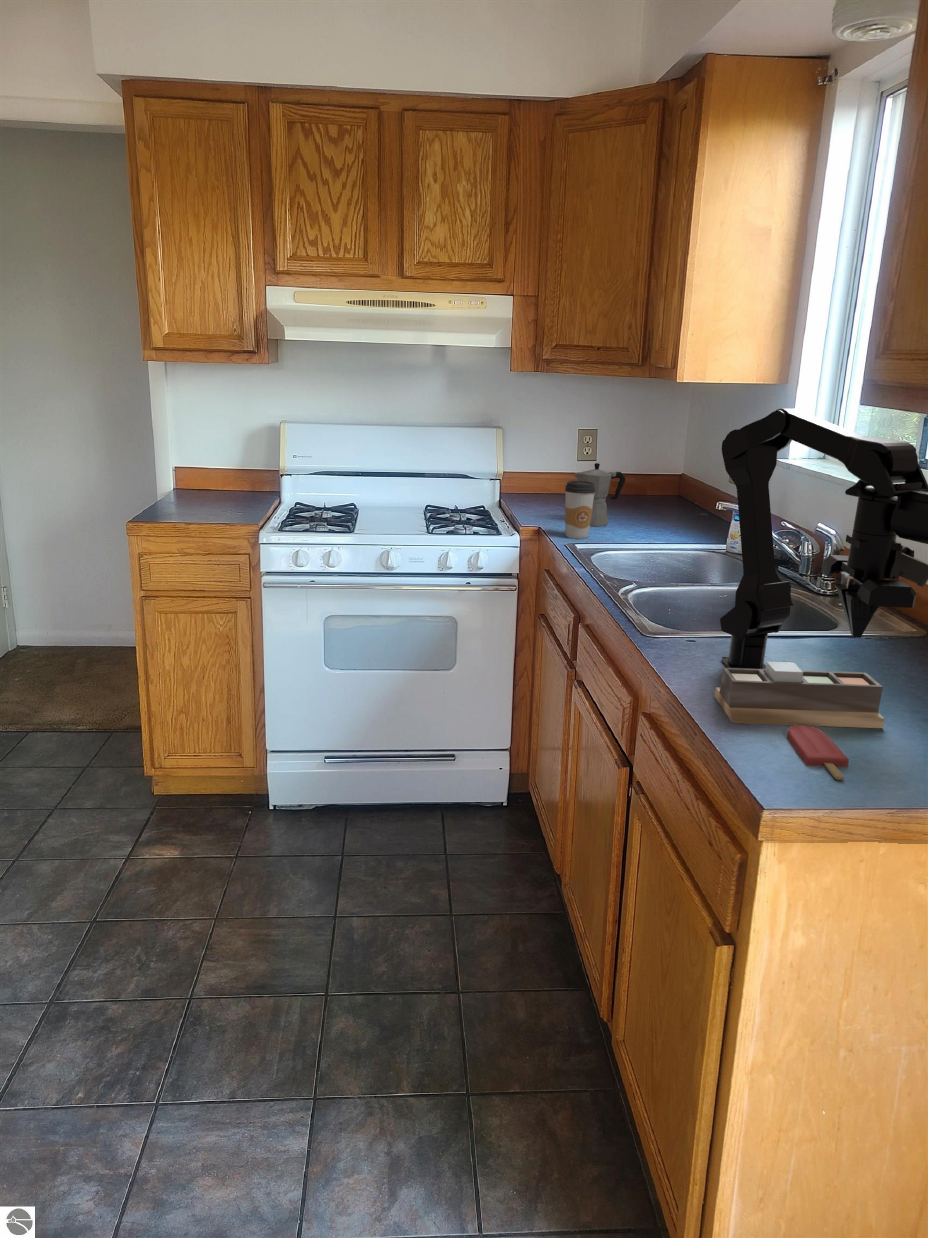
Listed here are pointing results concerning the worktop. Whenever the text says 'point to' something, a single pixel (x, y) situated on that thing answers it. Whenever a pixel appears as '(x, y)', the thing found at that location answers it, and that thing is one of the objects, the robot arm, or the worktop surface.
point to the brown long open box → (801, 700)
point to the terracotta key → (853, 680)
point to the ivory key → (746, 677)
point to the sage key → (817, 679)
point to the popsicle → (817, 749)
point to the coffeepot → (601, 492)
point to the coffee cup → (578, 508)
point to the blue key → (783, 672)
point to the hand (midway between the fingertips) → (856, 636)
